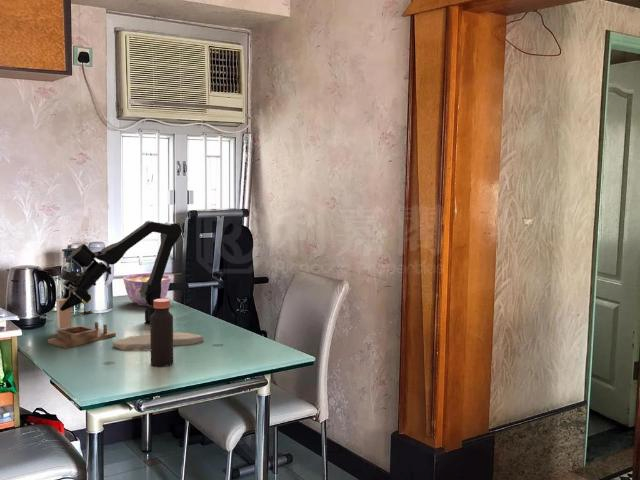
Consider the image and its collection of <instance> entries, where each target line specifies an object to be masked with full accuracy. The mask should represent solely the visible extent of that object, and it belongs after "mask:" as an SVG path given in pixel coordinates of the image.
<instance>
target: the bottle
mask: <svg viewBox="0 0 640 480" xmlns="http://www.w3.org/2000/svg"><path fill="white" fill-rule="evenodd" d="M153 307H154V309H155V312H154V313H153V314H152V315H151V317H150V324H149V326H150V337H151V349H150V364H151V366H153V367H156V366H157V368H158V367H159V368H161V367H163V368H164V367H168V366H171V365H172V364H174V346H173V332H174V315H173V314H172V313H171V312H170V307H171V299H169V298H164V299H155V300H153Z"/></svg>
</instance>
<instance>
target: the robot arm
mask: <svg viewBox="0 0 640 480" xmlns="http://www.w3.org/2000/svg"><path fill="white" fill-rule="evenodd" d="M182 232H183V230H182V227H181V225H179V224H178V223H176V222H172V221H166V222H165V223H162V222H156V221H153V220H147V221H145V222H144V223H143V224H141V225H140V226H139V227H137V228H136V229H134V230H133V231H132V232H131V233H129V234H128V235H126V236H124V238H122V239H121V240H119V241H117V242H114V243H112V244H109V245H108V246H106V247H103V248H102V249H101V250H99V251H95V252H93V251H92V250H91V249H90V248H89V247H88V246H87V245H86V244H84V243H82V244H81V245H79V246H77V247H76V248H75V249H73V250H72V252H71V253H70V254H69V259H71V260H72V261H73V262H74V263H76V264H77V265H78V267H80V268H85V270H84V271H81V272H79V273H77V272H76V270H72V269H71V270H67V269H65V268H64V269H62V271H61V273H60V275H59V278H61V280H64V281H63V283H62V285H63V289H64V293H63V296H62V297H61V298H67V300H66V301H65V303H64V304H63V305H62V307H61V308H60V310H62V311H64V310H66V309H68V308H70V307H71V308H72V307H75V306H77V305H79V304H82V303H83V301H82V300H84V301H85V302H86V303H88V302H89V301H90V300H91V295H90V294H88V293H89V291H90V289H91V288H92V287H93V286H94V287H95V286H96V285H97V282H98V281H99V279H100V278H101V277H102V276H103V275H104V274H105V273H107V274H108V275H109V276H110V275H112V266H110V265H115V264H117V263H118V262H119V261H120V260H121V259H122V258H124V257H123V256H124V255H125V254H126V252H128V250H130V249H131V248H133V247H134V246H135V245H137V244H138V243H140V242H141V241H142V240H144V239H146V238H147V237H148V236H149V235H150V234H152V233H157V234H160V244H159V247H158V250H157V254H156V256H155V260H154V264H153V266H152V270H151V273H150V274H151V275H150V278H149V280H148V281H147V282H146V283H145V282H142V287H141V289H140V291H139V292H141V293H140V297H141V299H142V300H143V301H145V304H146V305H148V306H146V307H145V311H144V324H146V325H150V317H151V315H152V314H153V313H154V312H155V309H154V307H153V300H155V299H162V298H161V297H160V296H161V281H162V278H163V274H165V272H166V268H167V264H168V262H169V259H170V255H171V252H172V250H173V249H172V248H173V247H174V246H175V244H176V243H177V242H178V241H179V239H180V236H181V234H182ZM96 259H97V260H98V261H100V262H98V261H97V260H96ZM103 262H104V263H103ZM106 264H108V265H109V266H107V265H106Z"/></svg>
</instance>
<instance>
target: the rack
mask: <svg viewBox="0 0 640 480" xmlns="http://www.w3.org/2000/svg"><path fill="white" fill-rule="evenodd" d="M116 336H117V334H116V332H114V331H111V330H108V325H107V324H105V323H104V324H103V327H102V328H99V321H95V322H94V328H93V327H88V326H86V325H85V326H84V325H76V326H72V327H70V328H61V329H58V330H56V337H54V338H53V337H52V338H47V344H50V345H54V346H56V347H57V346H58V347H60V348H64V349H68V348H71V347H76V346H80V345H84V344H88V343H93V342H97V341H101V340H105V339H109V338H113V337H116Z"/></svg>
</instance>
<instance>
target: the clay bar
mask: <svg viewBox="0 0 640 480" xmlns="http://www.w3.org/2000/svg"><path fill="white" fill-rule="evenodd" d="M66 300H67V298H62V297H60V298H56V318H57V319H56V323H57V325H56V326H57V328H59V330H61V329H66V328H71V327H73V326H72V307H70V308H68V309H66V310H64V311H62V310H60V308H61V307H62V305H63V304H64V303H65V301H66Z"/></svg>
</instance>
